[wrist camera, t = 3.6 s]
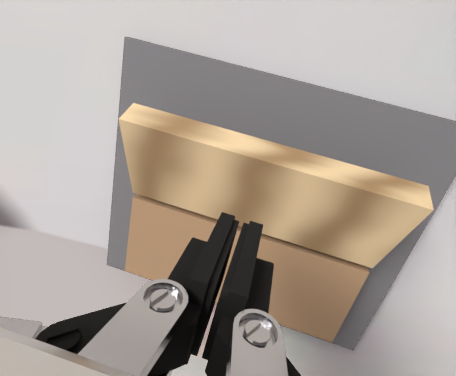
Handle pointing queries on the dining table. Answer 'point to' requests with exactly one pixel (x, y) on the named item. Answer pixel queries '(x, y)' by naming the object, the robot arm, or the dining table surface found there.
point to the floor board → (292, 137)
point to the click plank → (270, 186)
